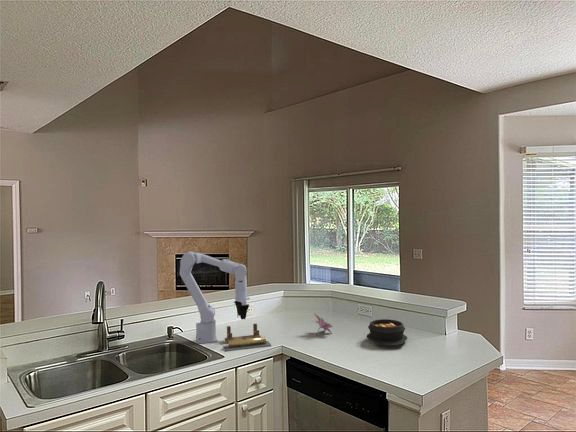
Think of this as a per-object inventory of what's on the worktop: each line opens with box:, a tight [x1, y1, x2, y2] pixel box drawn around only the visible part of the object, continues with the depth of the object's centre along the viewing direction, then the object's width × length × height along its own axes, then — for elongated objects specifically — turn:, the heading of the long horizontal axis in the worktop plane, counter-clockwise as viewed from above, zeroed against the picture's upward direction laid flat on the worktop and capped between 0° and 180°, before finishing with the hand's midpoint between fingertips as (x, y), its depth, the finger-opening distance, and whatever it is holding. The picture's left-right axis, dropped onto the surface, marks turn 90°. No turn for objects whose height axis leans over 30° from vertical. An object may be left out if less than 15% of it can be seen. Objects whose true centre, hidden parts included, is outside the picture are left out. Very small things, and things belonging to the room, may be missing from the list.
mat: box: [222, 340, 272, 352], centre depth 193 cm, size 21×7×1 cm, turn 106°
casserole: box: [366, 318, 408, 347], centre depth 196 cm, size 25×19×8 cm
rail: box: [227, 336, 267, 348], centre depth 193 cm, size 17×3×3 cm, turn 106°
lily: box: [313, 313, 334, 336], centre depth 211 cm, size 12×12×10 cm
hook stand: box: [224, 323, 262, 345], centre depth 203 cm, size 17×6×6 cm, turn 106°
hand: (241, 317), depth 205 cm, fingers open, 7 cm apart
